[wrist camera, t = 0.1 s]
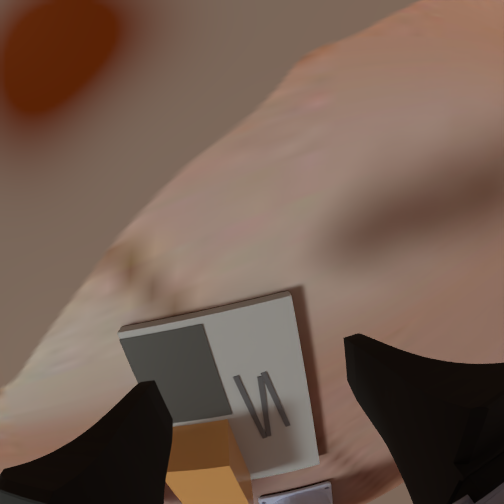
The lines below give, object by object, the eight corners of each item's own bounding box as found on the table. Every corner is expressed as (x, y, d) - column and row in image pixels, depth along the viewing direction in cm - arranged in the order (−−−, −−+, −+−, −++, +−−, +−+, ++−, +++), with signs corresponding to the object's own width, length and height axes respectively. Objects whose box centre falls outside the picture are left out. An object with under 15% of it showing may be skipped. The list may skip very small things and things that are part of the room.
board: (317, 456, 24) (319, 464, 23) (197, 479, 24) (197, 487, 23) (288, 290, 21) (291, 295, 19) (121, 326, 20) (116, 333, 19)
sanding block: (250, 474, 23) (255, 515, 18) (198, 481, 23) (197, 521, 18) (227, 419, 21) (229, 465, 16) (167, 427, 21) (158, 472, 16)
